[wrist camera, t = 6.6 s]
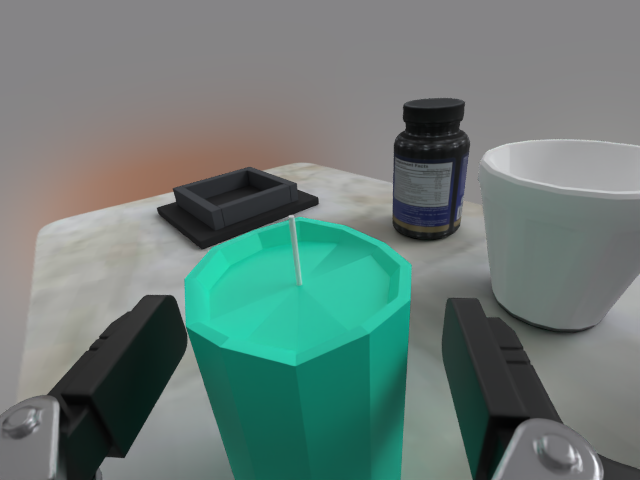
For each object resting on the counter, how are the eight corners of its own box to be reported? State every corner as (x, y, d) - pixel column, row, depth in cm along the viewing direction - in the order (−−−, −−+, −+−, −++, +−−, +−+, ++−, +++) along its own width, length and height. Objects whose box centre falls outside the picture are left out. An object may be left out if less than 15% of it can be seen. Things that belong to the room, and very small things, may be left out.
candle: (258, 426, 17) (200, 184, 11) (385, 417, 17) (390, 169, 11) (236, 596, 12) (108, 302, 6) (420, 583, 12) (460, 275, 6)
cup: (573, 389, 18) (638, 216, 13) (430, 287, 26) (441, 158, 21) (680, 317, 21) (759, 163, 17) (526, 248, 29) (552, 131, 25)
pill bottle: (423, 207, 38) (430, 94, 33) (474, 227, 33) (492, 99, 28) (378, 225, 35) (379, 104, 30) (427, 249, 30) (438, 111, 25)
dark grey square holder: (202, 249, 33) (195, 221, 32) (158, 214, 42) (151, 191, 40) (319, 203, 41) (317, 180, 39) (262, 181, 49) (259, 161, 48)
